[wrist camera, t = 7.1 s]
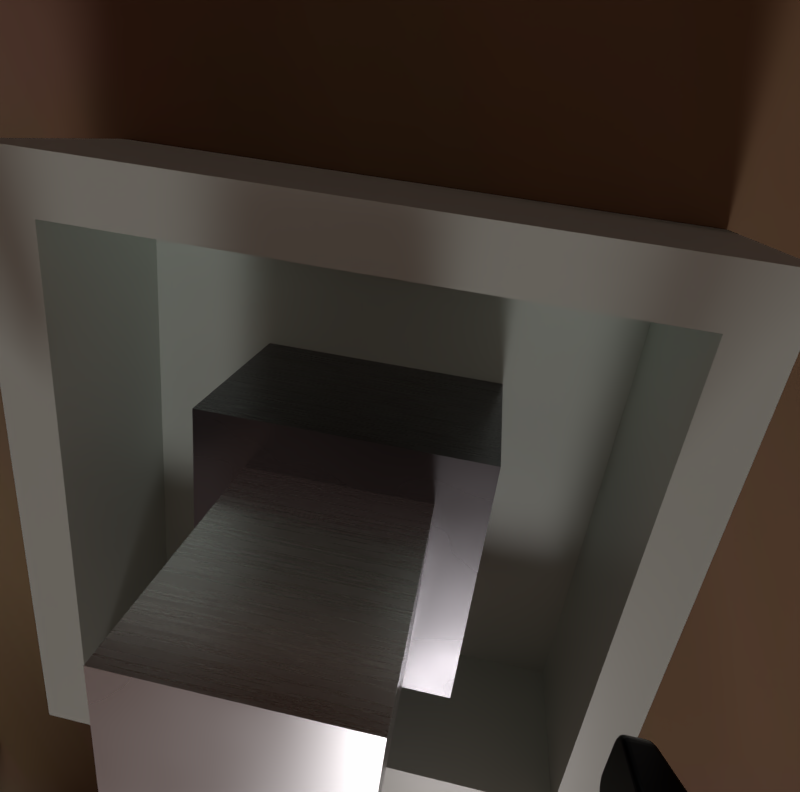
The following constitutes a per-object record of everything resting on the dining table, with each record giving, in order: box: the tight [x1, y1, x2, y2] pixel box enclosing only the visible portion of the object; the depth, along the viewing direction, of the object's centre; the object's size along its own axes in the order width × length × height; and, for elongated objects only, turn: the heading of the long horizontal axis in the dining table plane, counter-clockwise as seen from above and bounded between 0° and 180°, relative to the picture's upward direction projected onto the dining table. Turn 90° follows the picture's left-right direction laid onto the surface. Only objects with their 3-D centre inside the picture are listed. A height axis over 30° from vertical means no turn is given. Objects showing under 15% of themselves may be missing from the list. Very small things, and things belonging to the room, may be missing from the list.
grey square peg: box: [83, 343, 503, 792], centre depth 10 cm, size 5×5×8 cm
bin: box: [0, 138, 800, 792], centre depth 12 cm, size 12×12×4 cm
